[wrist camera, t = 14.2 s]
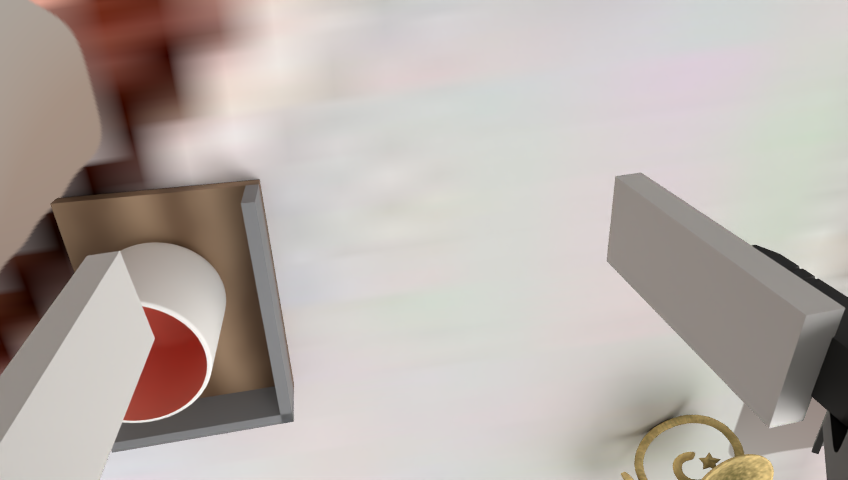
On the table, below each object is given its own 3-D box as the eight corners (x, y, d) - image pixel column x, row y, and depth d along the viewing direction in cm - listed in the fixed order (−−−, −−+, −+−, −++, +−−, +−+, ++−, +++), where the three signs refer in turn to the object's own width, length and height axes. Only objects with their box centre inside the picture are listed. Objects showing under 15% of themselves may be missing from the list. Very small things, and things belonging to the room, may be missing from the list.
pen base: (259, 179, 44) (258, 184, 43) (293, 383, 53) (293, 391, 52) (56, 198, 41) (50, 203, 40) (129, 409, 50) (125, 418, 49)
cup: (249, 312, 47) (238, 387, 38) (142, 358, 47) (106, 444, 38) (188, 216, 43) (160, 276, 34) (69, 266, 42) (9, 340, 34)
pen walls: (258, 184, 43) (255, 202, 39) (293, 391, 52) (293, 421, 48) (50, 203, 40) (26, 224, 37) (125, 418, 49) (112, 452, 46)
